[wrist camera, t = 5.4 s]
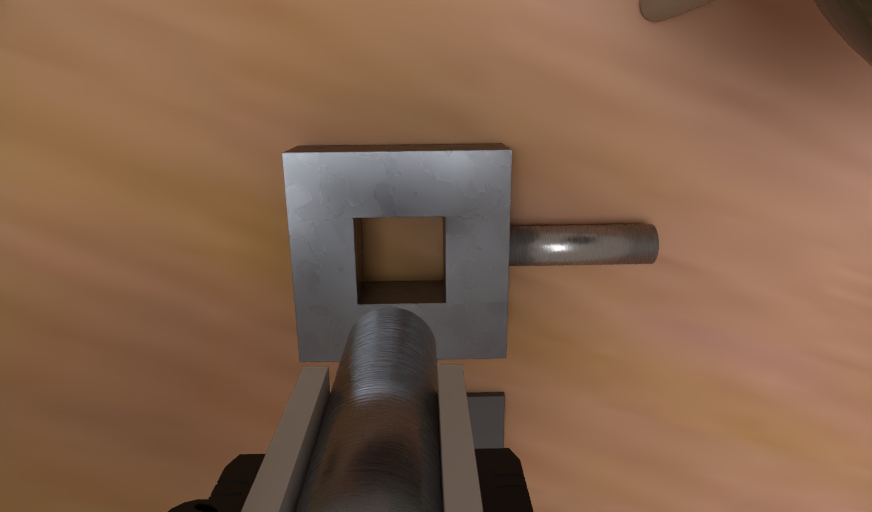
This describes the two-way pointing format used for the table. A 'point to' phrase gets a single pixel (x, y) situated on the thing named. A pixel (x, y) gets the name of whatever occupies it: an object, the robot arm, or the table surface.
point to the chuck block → (462, 242)
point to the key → (380, 422)
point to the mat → (487, 419)
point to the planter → (840, 3)
